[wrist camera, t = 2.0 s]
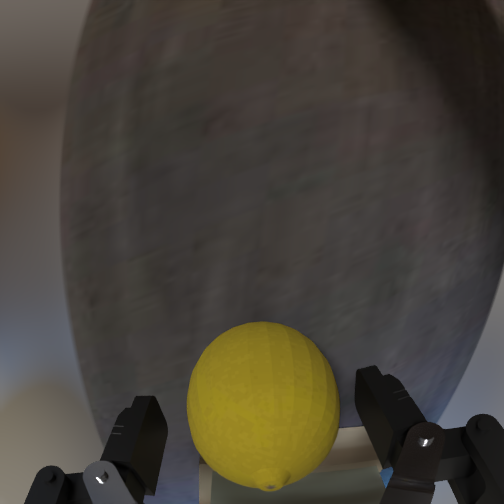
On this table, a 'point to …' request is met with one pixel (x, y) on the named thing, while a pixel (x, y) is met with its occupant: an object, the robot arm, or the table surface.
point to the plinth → (336, 459)
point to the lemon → (263, 405)
